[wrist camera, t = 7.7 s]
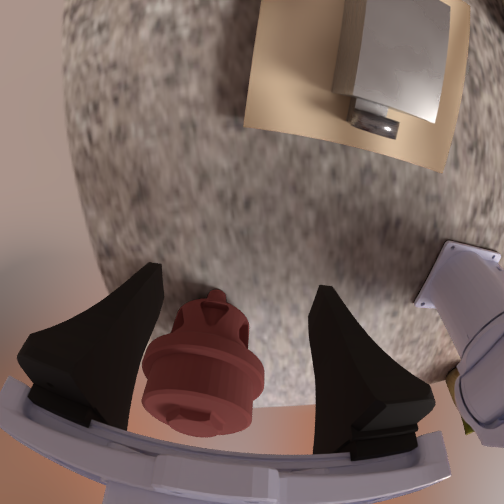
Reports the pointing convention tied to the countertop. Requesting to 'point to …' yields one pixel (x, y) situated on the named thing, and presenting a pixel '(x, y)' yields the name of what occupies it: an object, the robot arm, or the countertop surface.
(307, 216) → the countertop surface
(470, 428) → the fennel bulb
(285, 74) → the stand
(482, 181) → the countertop surface
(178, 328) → the mechanical component
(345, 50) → the block
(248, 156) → the countertop surface
